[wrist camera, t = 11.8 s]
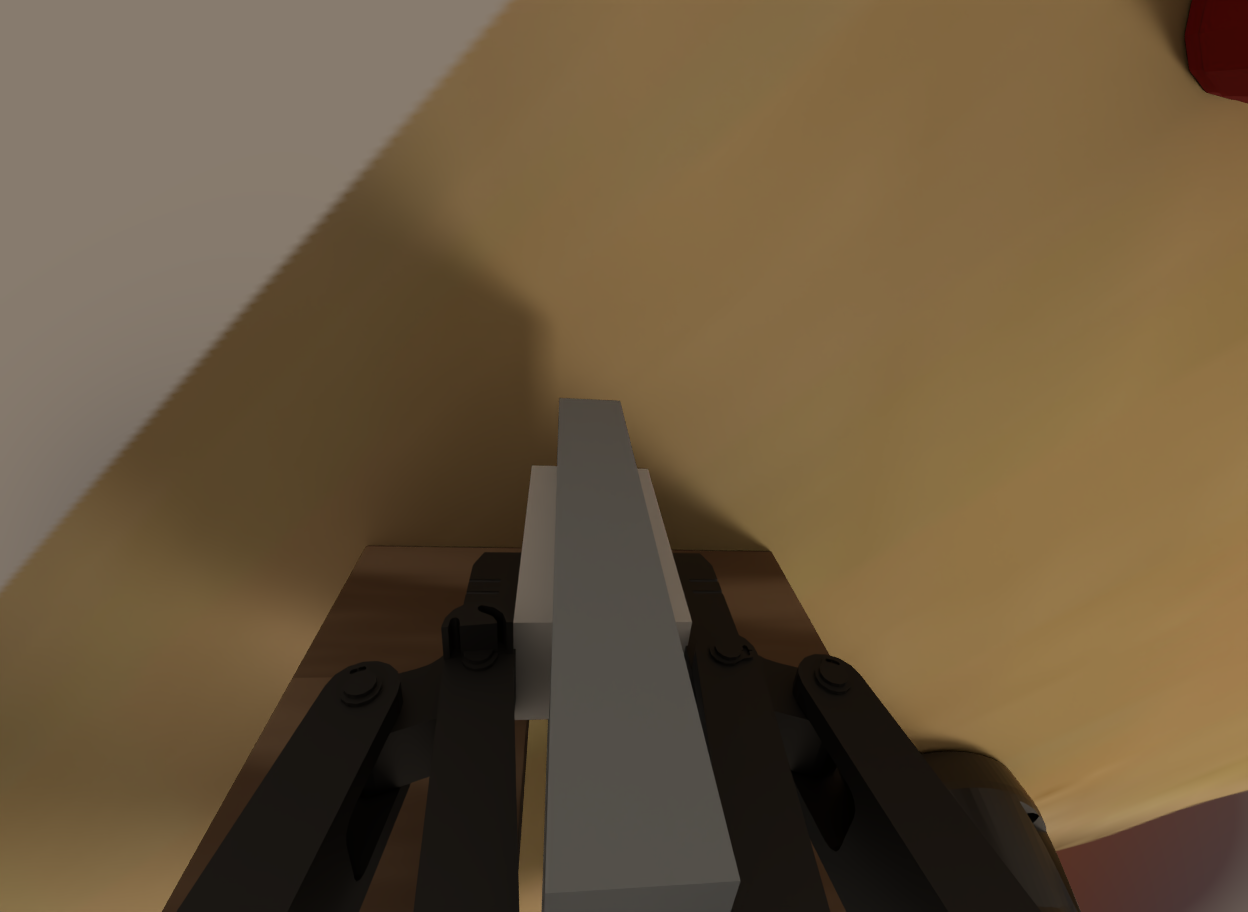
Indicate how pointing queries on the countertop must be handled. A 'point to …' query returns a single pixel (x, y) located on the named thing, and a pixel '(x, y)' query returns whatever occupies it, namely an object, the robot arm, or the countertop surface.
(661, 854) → the notched grey panel
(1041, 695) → the countertop surface
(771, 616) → the walnut board
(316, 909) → the robot arm
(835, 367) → the countertop surface
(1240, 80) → the plastic cup
